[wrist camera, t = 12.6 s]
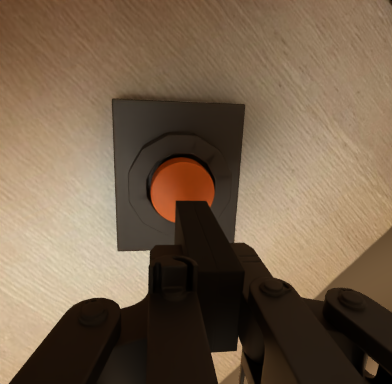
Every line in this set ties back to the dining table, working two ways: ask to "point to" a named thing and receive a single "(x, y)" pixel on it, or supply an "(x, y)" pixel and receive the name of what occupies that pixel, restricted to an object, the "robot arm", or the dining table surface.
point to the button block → (167, 149)
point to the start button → (180, 185)
